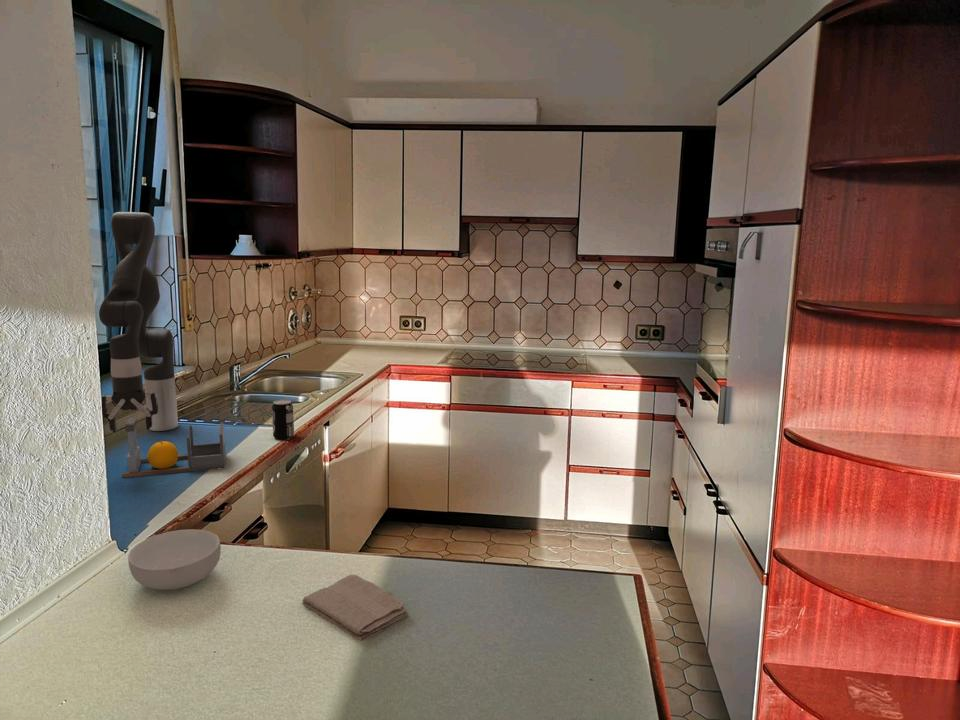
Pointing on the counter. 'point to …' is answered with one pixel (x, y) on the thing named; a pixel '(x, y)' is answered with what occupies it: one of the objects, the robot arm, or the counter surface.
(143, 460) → the rails
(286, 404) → the beverage can
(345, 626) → the washcloth
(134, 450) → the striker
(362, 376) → the counter surface
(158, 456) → the orange
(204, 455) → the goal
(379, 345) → the counter surface
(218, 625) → the counter surface
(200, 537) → the cereal bowl
